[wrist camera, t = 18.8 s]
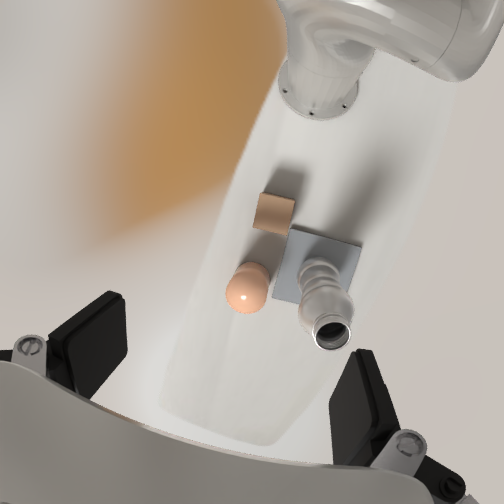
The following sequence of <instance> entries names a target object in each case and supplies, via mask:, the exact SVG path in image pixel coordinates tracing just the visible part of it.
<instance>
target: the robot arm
mask: <svg viewBox="0 0 504 504" xmlns="http://www.w3.org/2000/svg"><path fill="white" fill-rule="evenodd" d="M277 3H278V5H279V8H280V10H281V12H282V13H283V15H284V18H285V21H286V27H287V50H288V60H287V61H286V62H285V63H284V65H283V66H282V68H281V70H280V73H279V79H278V84H279V90H280V93H281V96H282V98H283V99H284V101H285V102H286V104H287V105H288V106H289V107H290V108H291V109H292V110H293V111H295V112H296V113H298V114H299V115H302V116H304V117H306V118H309V119H313V120H330V119H334V118H337V117H339V116H341V115H342V114H344V113H345V112H347V111H348V110H349V109H350V107H351V106H352V105H353V103H354V101H355V99H356V95H357V82H356V81H357V80H358V78H359V77H360V75H361V74H362V73H363V71H364V70H365V68H366V67H367V65H368V64H369V62H370V61H371V59H372V57H373V55H374V51H375V48H377V49H380V50H382V51H384V52H387V53H389V54H391V55H393V56H395V57H398V58H400V59H402V60H404V61H406V62H408V63H410V64H412V65H414V66H416V67H418V68H420V69H422V70H424V71H426V72H428V73H429V74H431V75H433V76H435V77H437V78H440V79H442V80H445V81H448V82H461V81H464V80H466V79H468V78H470V77H471V76H473V75H474V74H475V73H476V72H477V71H478V69H479V68H480V67H481V66H482V64H483V63H484V61H485V59H486V58H487V56H488V55H489V53H490V51H491V49H492V47H493V45H494V43H495V41H496V39H497V37H498V35H499V32H500V30H501V28H502V26H503V23H504V0H277ZM284 91H287V93H284ZM343 106H345V108H343ZM310 113H313V115H310ZM48 337H49V340H47V341H45V340H44V339H43V338H42V337H40V336H37V335H26V336H23V337H21V338H19V339H18V340H17V341H16V342H15V344H14V348H13V350H0V504H479V503H478V502H477V501H476V500H475V499H474V498H473V497H472V496H471V495H470V494H469V495H468V496H466V495H465V490H466V485H465V482H464V480H463V479H462V477H461V476H459V475H458V474H457V473H455V472H453V471H451V470H450V469H448V468H446V467H445V466H443V465H441V464H440V463H438V462H436V461H435V460H433V459H431V458H430V457H428V456H427V455H425V454H426V451H427V443H426V441H425V439H424V438H423V437H422V435H420V434H419V433H417V432H416V431H413V430H409V429H402V430H401V428H400V425H399V422H398V419H397V416H396V413H395V410H394V407H393V404H392V401H391V398H390V395H389V392H388V389H387V387H386V385H385V384H384V381H383V379H382V376H381V373H380V370H379V368H378V365H377V362H376V360H375V357H374V354H373V352H372V351H371V350H366V349H357V350H356V352H352V353H351V355H350V357H349V359H348V362H347V364H346V366H345V369H344V371H343V373H342V375H341V377H340V379H339V381H338V383H337V386H336V388H335V390H334V392H333V394H332V396H331V398H330V401H329V415H330V425H331V437H332V449H333V465H331V464H317V463H307V462H298V461H289V460H281V459H274V458H268V457H262V456H256V455H251V454H246V453H241V452H236V451H231V450H227V449H222V448H219V447H215V446H210V445H207V444H203V443H200V442H196V441H193V440H189V439H186V438H183V437H179V436H176V435H173V434H170V433H167V432H164V431H161V430H159V429H156V428H153V427H150V426H148V425H145V424H142V423H140V422H137V421H135V420H132V419H130V418H128V417H125V416H123V415H121V414H118V413H116V412H114V411H112V410H109V409H107V408H105V407H103V406H101V405H99V404H97V403H95V402H92V401H90V399H91V397H92V396H93V395H94V394H95V393H96V391H97V390H98V389H99V388H100V386H101V385H102V384H103V383H104V382H105V380H106V379H107V378H108V377H109V375H111V373H112V372H113V371H114V370H115V369H116V367H117V366H118V365H119V364H120V363H121V362H122V360H123V359H124V358H125V357H126V355H127V351H128V348H127V334H126V312H125V300H124V299H123V298H122V295H121V294H119V293H116V292H113V291H107V292H105V293H104V294H103V295H101V296H100V297H99V298H97V299H96V300H94V301H93V302H92V303H90V304H89V305H88V306H86V307H85V308H83V309H82V310H81V311H79V312H78V313H76V314H75V315H74V316H72V317H71V318H70V319H69V320H67V321H66V322H65V323H63V324H62V325H60V326H59V327H58V328H57V329H55V330H54V331H53V332H51V333H50V334H49V335H48Z"/></svg>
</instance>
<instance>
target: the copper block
mask: <svg viewBox="0 0 504 504" xmlns="http://www.w3.org/2000/svg"><path fill="white" fill-rule="evenodd" d="M294 203H295V200H294V199H291V198H287V197H283V196H278V195H274V194H270V193H265V192H262V193H260V196H259V200H258V205H257V209H256V214H255V218H254V223H253V228H257V229H261V230H266V231H270V232H274V233H278V234H282V235H286V236H287V233H288V229H289V224H290V220H291V216H292V212H293V208H294Z"/></svg>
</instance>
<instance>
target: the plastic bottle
mask: <svg viewBox="0 0 504 504" xmlns="http://www.w3.org/2000/svg"><path fill="white" fill-rule="evenodd" d="M297 285H298V287H299V289H300V291H301V293H302V298H301V301H300V304H299V309H298V318H299V322H300V324H301V326H302V327H303V328H304V330H305V331H306V332H307V333H308V334H310V335H312V336H313V337H314V340H315V343H316V345H317V346H318V347H319V348H321V349H322V350H325V351H336V350H339V349H341V348H343V347H344V346H346V345H347V343H348V342H349V340H350V338H351V329H350V324H351V323H352V320H353V316H354V304H353V301H352V299H351V298H350V296H349V295H348V293H347V292H346V291H345V290H344V289H343V288H342V287H341V285H340V275H339V271H338V268H337V267H336V265H335V264H334V263H333V262H332V261H330V260H328V259H326V258H324V257H313V258H310V259H308V260H306V261H305V262H304V263H303V264H302V265H301V267H300V268H299V270H298V273H297Z"/></svg>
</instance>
